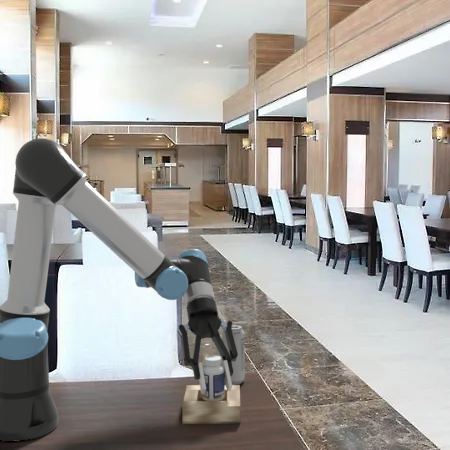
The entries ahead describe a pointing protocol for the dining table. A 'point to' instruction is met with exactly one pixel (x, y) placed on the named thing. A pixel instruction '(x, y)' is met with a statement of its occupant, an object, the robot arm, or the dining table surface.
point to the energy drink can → (240, 361)
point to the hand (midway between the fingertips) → (216, 389)
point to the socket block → (211, 407)
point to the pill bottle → (213, 379)
